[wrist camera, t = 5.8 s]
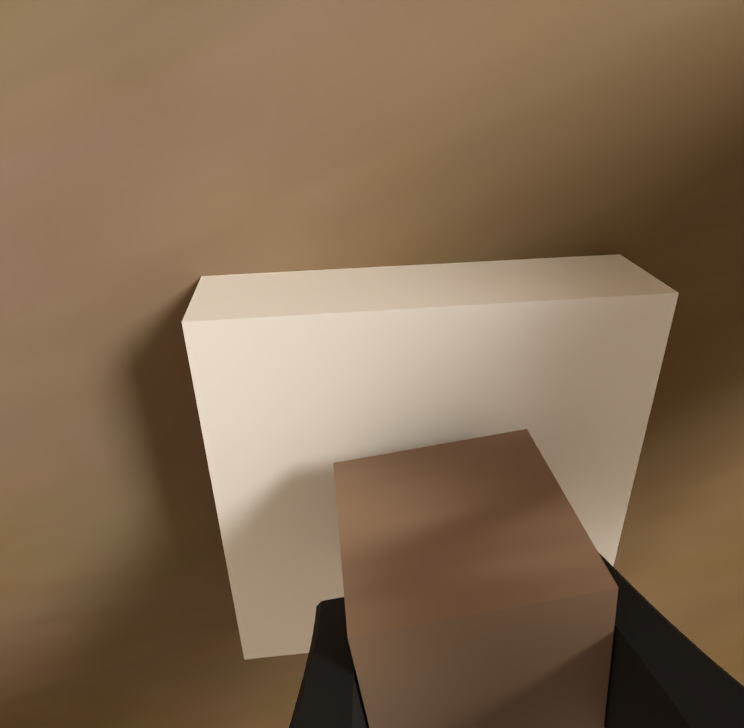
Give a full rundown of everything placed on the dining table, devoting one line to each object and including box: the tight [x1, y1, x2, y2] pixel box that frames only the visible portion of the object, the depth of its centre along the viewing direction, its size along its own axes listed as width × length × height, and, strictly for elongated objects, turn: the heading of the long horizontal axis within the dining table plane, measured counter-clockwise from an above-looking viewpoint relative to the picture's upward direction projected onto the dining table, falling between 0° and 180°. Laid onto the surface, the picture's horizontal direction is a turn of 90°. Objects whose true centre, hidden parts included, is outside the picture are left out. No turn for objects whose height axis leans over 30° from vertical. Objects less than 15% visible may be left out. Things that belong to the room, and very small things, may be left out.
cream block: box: [182, 254, 679, 660], centre depth 16 cm, size 10×10×3 cm
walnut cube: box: [333, 429, 618, 728], centre depth 11 cm, size 4×4×4 cm
